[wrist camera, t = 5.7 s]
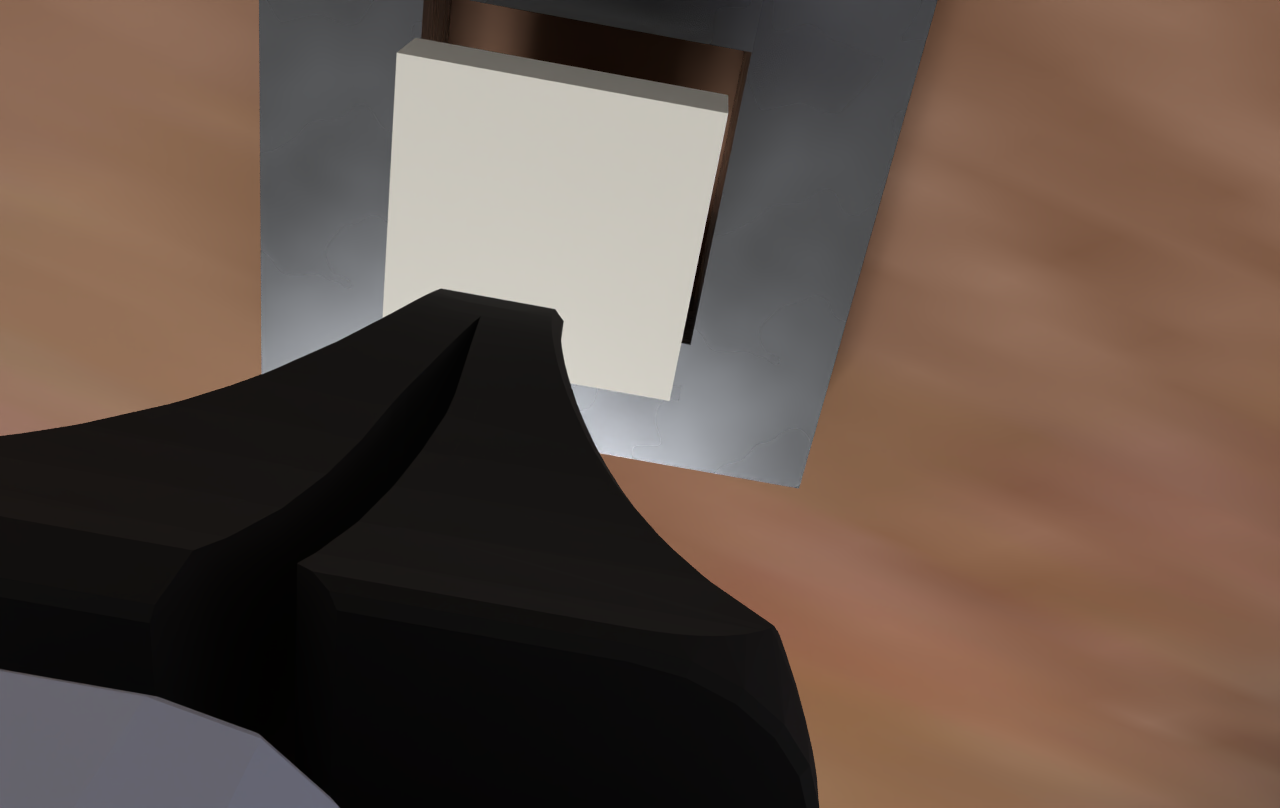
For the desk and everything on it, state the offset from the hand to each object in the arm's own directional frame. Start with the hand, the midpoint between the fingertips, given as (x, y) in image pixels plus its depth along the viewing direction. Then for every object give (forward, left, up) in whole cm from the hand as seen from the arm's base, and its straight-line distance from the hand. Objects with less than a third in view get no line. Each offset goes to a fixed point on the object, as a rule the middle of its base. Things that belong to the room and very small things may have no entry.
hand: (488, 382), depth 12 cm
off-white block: (0, 0, -8) cm, 8 cm away
